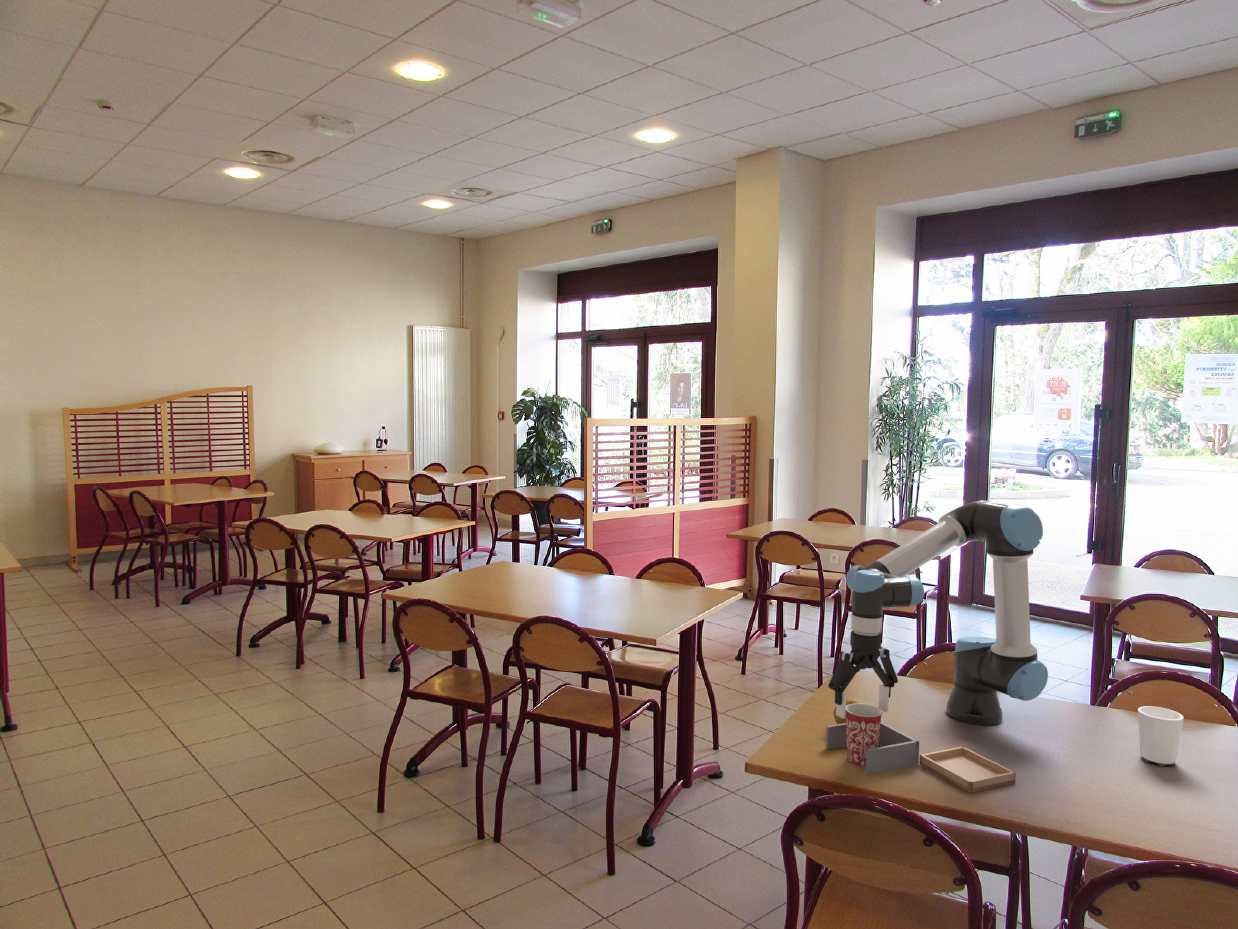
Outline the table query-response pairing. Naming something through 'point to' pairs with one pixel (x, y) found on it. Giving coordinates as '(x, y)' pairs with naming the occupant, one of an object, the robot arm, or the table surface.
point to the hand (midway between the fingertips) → (862, 713)
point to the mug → (861, 731)
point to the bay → (880, 748)
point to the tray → (967, 769)
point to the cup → (1159, 734)
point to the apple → (839, 719)
